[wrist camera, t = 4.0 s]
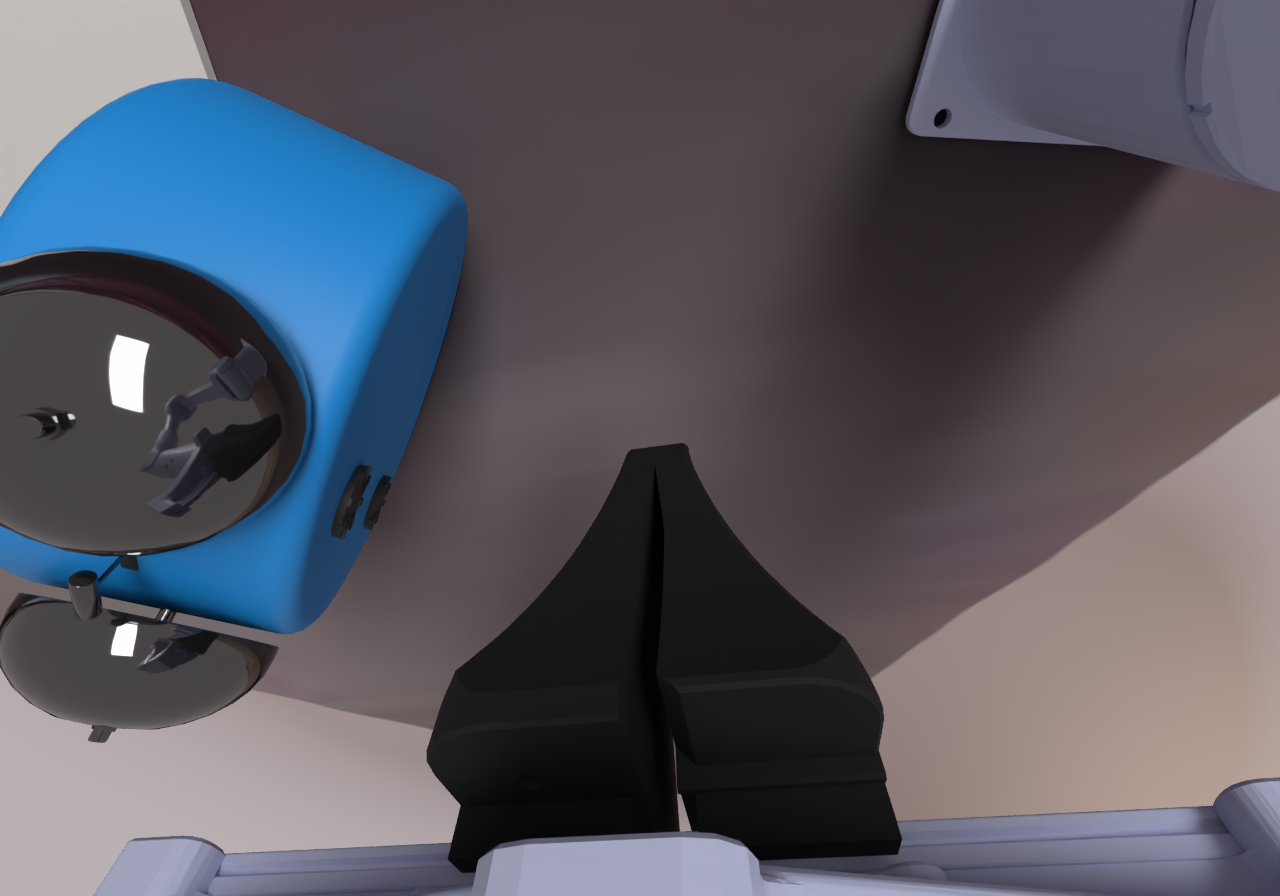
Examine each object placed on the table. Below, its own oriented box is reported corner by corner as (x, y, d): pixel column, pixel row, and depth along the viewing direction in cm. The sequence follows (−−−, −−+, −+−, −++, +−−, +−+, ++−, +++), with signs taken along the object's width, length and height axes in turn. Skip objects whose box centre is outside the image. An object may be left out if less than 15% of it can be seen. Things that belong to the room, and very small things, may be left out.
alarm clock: (307, 54, 17) (-483, 122, 5) (507, 151, 18) (301, 381, 6) (275, 394, 24) (-75, 768, 12) (421, 441, 25) (247, 809, 13)
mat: (162, -78, 15) (151, -80, 15) (356, 480, 27) (352, 485, 27) (-357, -107, 15) (-379, -110, 15) (69, 466, 27) (62, 471, 27)
